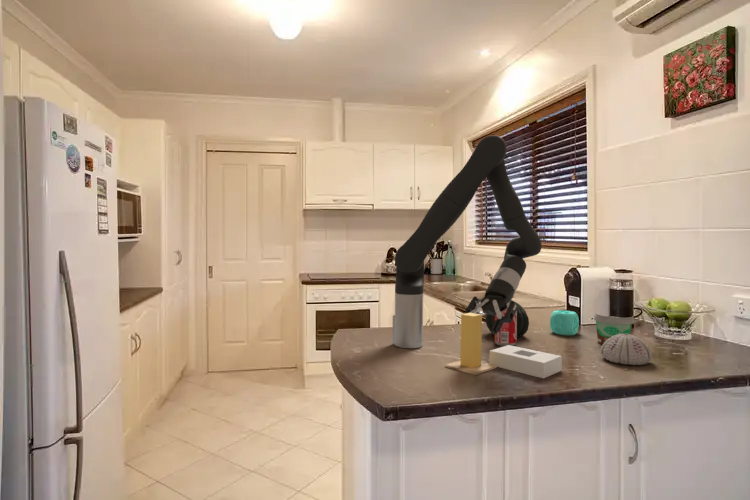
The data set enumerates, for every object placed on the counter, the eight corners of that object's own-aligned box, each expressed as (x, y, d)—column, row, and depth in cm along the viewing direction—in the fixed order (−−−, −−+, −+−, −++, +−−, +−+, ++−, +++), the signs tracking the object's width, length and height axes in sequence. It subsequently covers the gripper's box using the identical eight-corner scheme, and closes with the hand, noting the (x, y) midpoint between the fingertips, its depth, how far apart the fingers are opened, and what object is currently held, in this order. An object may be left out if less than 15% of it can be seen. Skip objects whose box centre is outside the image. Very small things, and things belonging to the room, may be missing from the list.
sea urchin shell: (658, 370, 124) (659, 341, 123) (604, 365, 128) (604, 337, 127) (644, 357, 136) (645, 331, 136) (595, 353, 140) (596, 328, 140)
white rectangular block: (489, 364, 126) (489, 350, 126) (508, 358, 133) (508, 345, 133) (543, 378, 115) (544, 362, 115) (561, 370, 121) (561, 356, 121)
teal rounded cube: (578, 333, 170) (579, 312, 170) (571, 336, 164) (572, 314, 164) (557, 330, 175) (557, 309, 175) (549, 333, 169) (550, 312, 169)
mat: (444, 366, 124) (444, 364, 124) (466, 360, 131) (466, 358, 131) (475, 375, 117) (475, 373, 117) (496, 367, 124) (496, 365, 124)
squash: (536, 326, 154) (526, 290, 163) (492, 327, 154) (484, 291, 164) (526, 346, 165) (517, 311, 174) (485, 347, 165) (479, 312, 175)
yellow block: (460, 364, 124) (461, 314, 123) (469, 362, 127) (469, 312, 126) (472, 368, 121) (473, 316, 121) (481, 365, 124) (482, 314, 123)
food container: (594, 346, 150) (595, 316, 149) (592, 342, 155) (593, 313, 155) (636, 350, 145) (637, 319, 145) (633, 345, 151) (634, 316, 150)
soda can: (517, 347, 147) (518, 307, 146) (494, 346, 148) (495, 306, 148) (515, 342, 153) (516, 304, 153) (493, 341, 155) (494, 303, 154)
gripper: (477, 276, 137) (454, 318, 130) (520, 279, 126) (497, 325, 119) (487, 292, 141) (464, 333, 133) (529, 296, 130) (507, 342, 123)
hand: (480, 329), depth 126 cm, fingers open, 8 cm apart
